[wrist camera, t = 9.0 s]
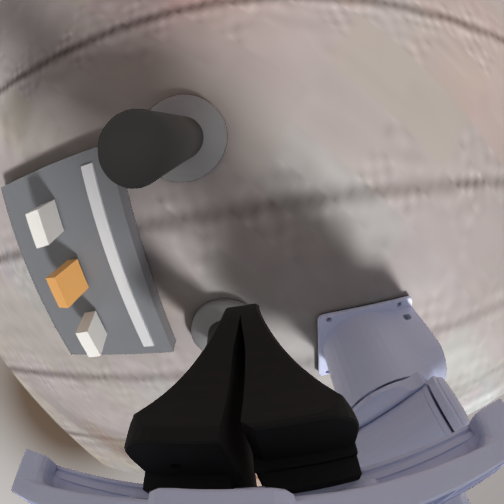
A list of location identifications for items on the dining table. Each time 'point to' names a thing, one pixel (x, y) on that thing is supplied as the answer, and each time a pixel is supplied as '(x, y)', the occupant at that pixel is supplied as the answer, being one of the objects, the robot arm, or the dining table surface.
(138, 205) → the dining table surface
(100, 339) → the block
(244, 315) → the robot arm
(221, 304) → the rubber post
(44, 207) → the block
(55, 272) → the block
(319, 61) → the dining table surface
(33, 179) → the breaker panel
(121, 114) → the rubber post
